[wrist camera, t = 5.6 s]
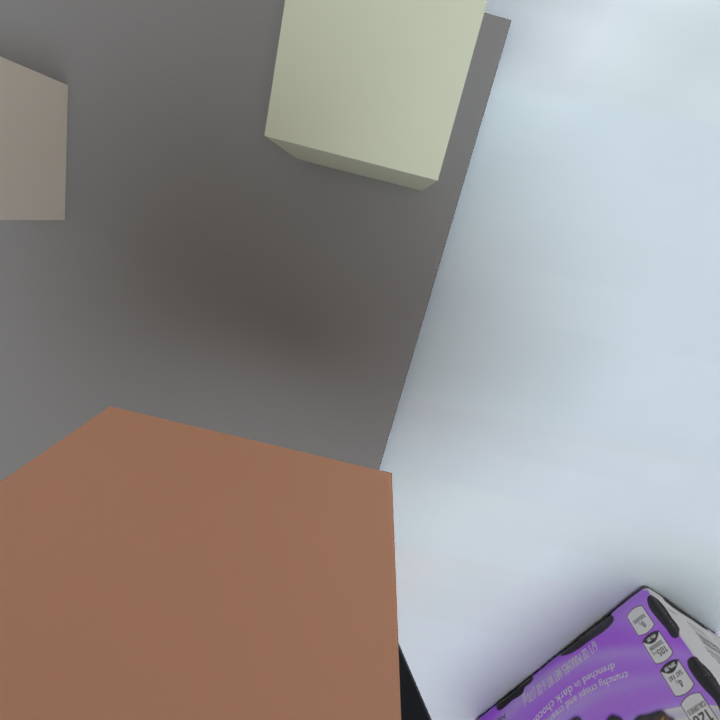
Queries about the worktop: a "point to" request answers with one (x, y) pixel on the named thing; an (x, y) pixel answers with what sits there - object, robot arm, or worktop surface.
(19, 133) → the taupe block
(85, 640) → the terracotta block
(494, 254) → the worktop surface
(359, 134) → the sage block
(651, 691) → the candy box
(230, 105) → the slate mat
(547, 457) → the worktop surface
